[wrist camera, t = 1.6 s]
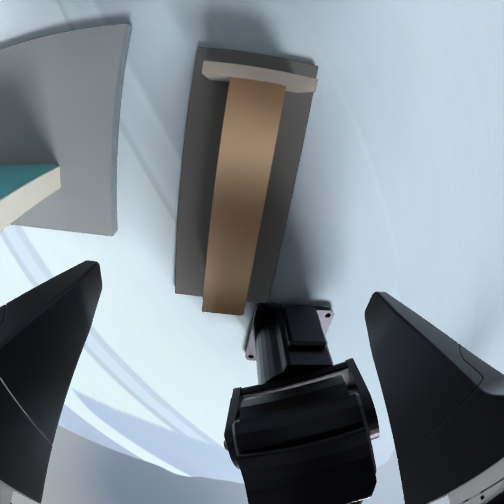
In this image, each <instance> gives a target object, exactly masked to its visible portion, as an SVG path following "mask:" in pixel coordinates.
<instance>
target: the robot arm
mask: <svg viewBox="0 0 504 504" xmlns="http://www.w3.org/2000/svg"><path fill="white" fill-rule="evenodd" d="M101 291H102V279H101V272H100V265H99V263H98V262H95V261H88V260H87V261H84V262H82V263H80V264H78V265H77V266H75V267H73V268H71V269H69V270H67V271H65V272H63V273H61V274H59V275H57V276H55V277H53V278H52V279H50V280H48V281H46V282H44V283H42V284H40V285H39V286H37V287H35V288H33V289H31V290H30V291H28V292H26V293H24V294H22V295H21V296H19V297H17V298H15V299H14V300H12V301H10V302H8V303H7V304H6V305H3V306H1V307H0V504H12V503H11V498H12V493H13V491H15V492H17V493H19V494H21V495H23V496H25V497H27V498H29V499H31V500H33V501H35V502H37V503H41V500H42V495H43V489H44V483H45V478H46V473H47V468H48V463H49V458H50V454H51V450H52V444H53V440H54V437H55V433H56V429H57V425H58V422H59V418H60V415H61V411H62V408H63V405H64V401H65V398H66V395H67V392H68V389H69V386H70V383H71V380H72V377H73V374H74V371H75V368H76V365H77V363H78V360H79V357H80V354H81V352H82V349H83V346H84V344H85V341H86V339H87V336H88V334H89V331H90V328H91V325H92V321H93V318H94V314H95V311H96V307H97V304H98V301H99V297H100V294H101ZM262 308H263V309H264V310H260V309H262ZM327 313H329V314H327ZM326 314H327V315H326ZM333 316H334V313H333V310H332V309H331V308H326V307H310V306H296V305H283V304H271V303H259V304H257V305H256V308H255V312H254V317H253V321H252V326H251V330H250V335H249V339H248V344H247V348H246V353H245V355H246V359H248V360H256V362H257V374H258V385H255V386H250V387H245V388H241V387H239V388H234V389H233V394H232V398H231V401H230V407H229V412H228V417H227V422H226V428H225V433H224V437H225V440H224V447H225V449H226V450H228V451H229V454H230V457H231V460H232V462H233V463H234V465H235V466H236V467H237V468H238V469H240V470H241V473H242V476H243V480H244V483H245V488H246V493H247V498H248V503H249V504H361V503H362V501H363V500H364V499H367V498H370V497H371V496H372V494H373V491H374V488H375V485H376V482H377V481H376V475H375V474H376V465H375V459H374V454H373V449H372V444H371V440H373V439H376V438H378V437H379V425H378V419H377V415H376V411H375V407H374V404H373V401H372V398H371V395H370V393H369V391H368V389H367V386H366V384H365V382H364V380H363V378H362V376H361V374H360V372H359V370H358V368H357V366H356V364H355V362H354V360H353V358H351V359H348V360H345V362H343V363H339V364H336V365H333V362H332V359H331V355H330V352H329V349H328V346H327V340H326V337H325V334H326V332H327V330H328V328H329V325H330V323H331V320H332V318H333ZM365 321H366V326H367V331H368V336H369V341H370V347H371V351H372V356H373V360H374V363H375V367H376V370H377V374H378V377H379V381H380V385H381V389H382V392H383V396H384V400H385V404H386V408H387V413H388V417H389V421H390V425H391V430H392V434H393V439H394V444H395V448H396V453H397V458H398V464H399V470H400V475H401V481H402V487H403V494H404V500H405V504H430V503H432V502H434V501H436V500H439V499H441V498H443V497H445V496H447V495H448V497H449V500H450V504H504V375H503V374H502V373H500V372H499V371H497V370H496V369H494V368H493V367H491V366H490V365H488V364H487V363H485V362H484V361H482V360H481V359H479V358H478V357H477V356H475V355H474V354H472V353H471V352H470V351H468V350H467V349H465V348H464V347H463V346H461V345H460V344H458V343H457V342H456V341H454V340H453V339H452V338H450V337H449V336H447V335H446V334H445V333H443V332H442V331H441V330H439V329H438V328H436V327H435V326H434V325H432V324H431V323H429V322H428V321H426V320H425V319H424V318H422V317H421V316H419V315H418V314H417V313H415V312H414V311H412V310H411V309H409V308H408V307H406V306H405V305H404V304H402V303H401V302H399V301H398V300H396V299H395V298H393V297H392V296H390V295H389V294H388V293H386V292H374V293H373V295H372V297H371V299H370V301H369V303H368V306H367V308H366V310H365Z"/></svg>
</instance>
